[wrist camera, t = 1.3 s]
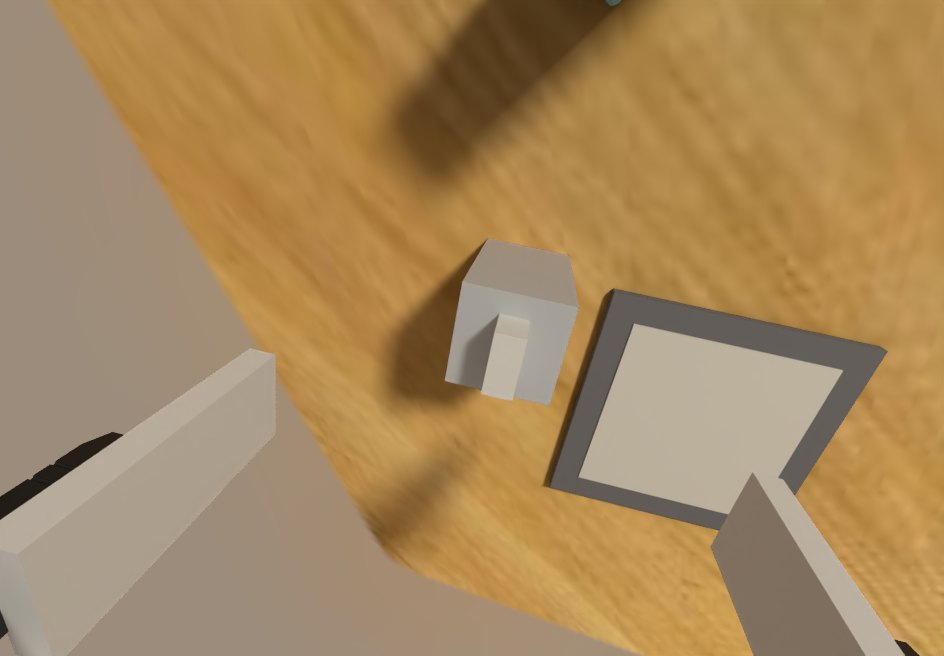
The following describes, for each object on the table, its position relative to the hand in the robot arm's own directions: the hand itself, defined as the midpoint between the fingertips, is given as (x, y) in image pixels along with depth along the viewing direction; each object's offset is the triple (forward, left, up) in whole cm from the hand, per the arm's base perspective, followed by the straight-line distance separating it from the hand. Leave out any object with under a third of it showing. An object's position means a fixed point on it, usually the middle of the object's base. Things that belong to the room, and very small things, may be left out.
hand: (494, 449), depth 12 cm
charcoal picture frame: (+6, +12, -14) cm, 19 cm away
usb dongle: (0, 0, -14) cm, 14 cm away
